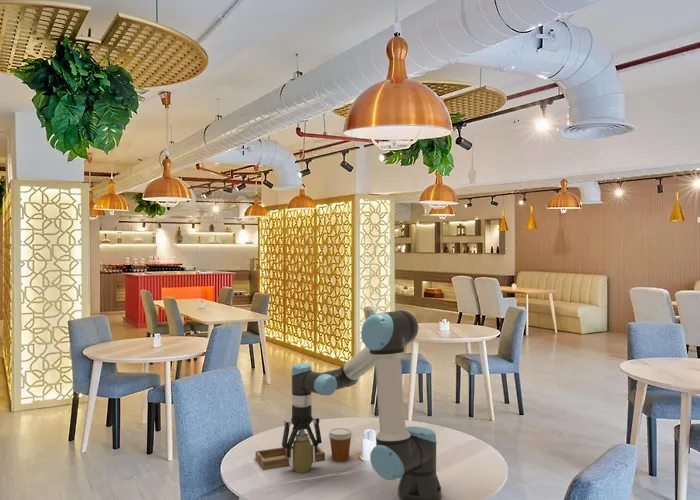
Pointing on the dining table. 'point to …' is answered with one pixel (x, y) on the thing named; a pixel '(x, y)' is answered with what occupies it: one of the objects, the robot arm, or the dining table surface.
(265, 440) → the dining table surface
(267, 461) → the caddy
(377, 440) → the robot arm
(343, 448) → the disposable coffee cup
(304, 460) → the squeeze bottle
